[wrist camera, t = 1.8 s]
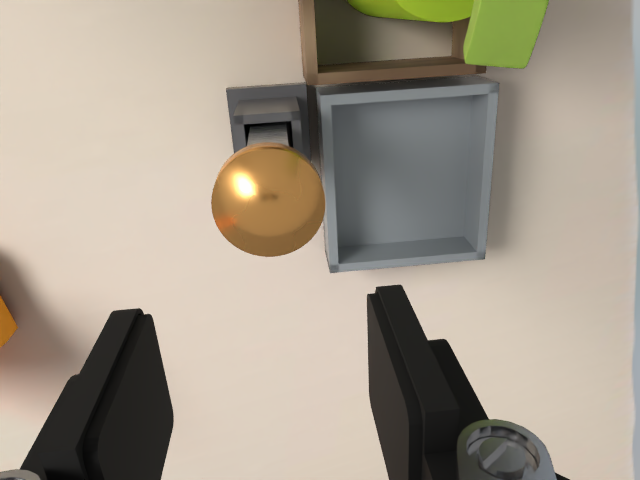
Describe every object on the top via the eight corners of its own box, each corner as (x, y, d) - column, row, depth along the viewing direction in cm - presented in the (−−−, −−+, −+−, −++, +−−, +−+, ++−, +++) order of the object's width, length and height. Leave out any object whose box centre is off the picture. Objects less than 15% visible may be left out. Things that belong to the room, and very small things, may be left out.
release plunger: (228, 99, 31) (203, 154, 19) (303, 94, 31) (322, 145, 20) (238, 172, 33) (219, 261, 21) (308, 166, 33) (328, 251, 21)
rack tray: (315, 87, 34) (320, 95, 31) (478, 75, 34) (499, 82, 31) (325, 251, 39) (330, 272, 35) (467, 238, 39) (484, 259, 36)
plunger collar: (227, 87, 33) (218, 103, 28) (305, 82, 34) (312, 96, 28) (236, 164, 35) (230, 192, 30) (310, 158, 36) (317, 185, 30)
